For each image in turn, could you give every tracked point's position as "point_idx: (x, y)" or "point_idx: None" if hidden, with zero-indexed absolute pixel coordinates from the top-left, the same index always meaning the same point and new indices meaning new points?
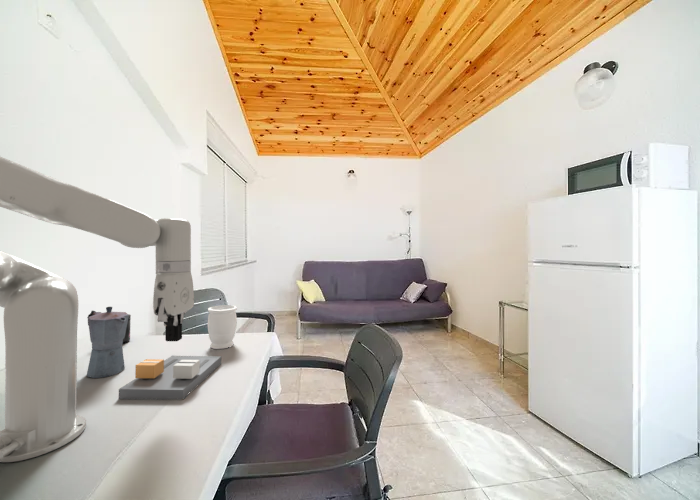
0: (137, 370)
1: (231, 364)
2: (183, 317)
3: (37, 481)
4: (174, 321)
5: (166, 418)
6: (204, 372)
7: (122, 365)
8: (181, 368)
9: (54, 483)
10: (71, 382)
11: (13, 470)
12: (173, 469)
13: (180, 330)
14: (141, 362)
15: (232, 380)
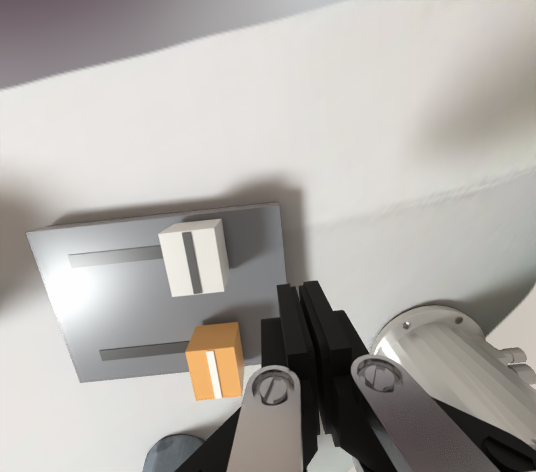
0: (242, 377)
1: (39, 188)
2: (238, 421)
3: (522, 266)
4: (432, 400)
5: (358, 185)
6: (155, 217)
7: (165, 450)
8: (221, 261)
9: (530, 237)
10: (514, 410)
11: (493, 321)
12: (529, 43)
13: (299, 317)
14: (221, 394)
15: (147, 120)
